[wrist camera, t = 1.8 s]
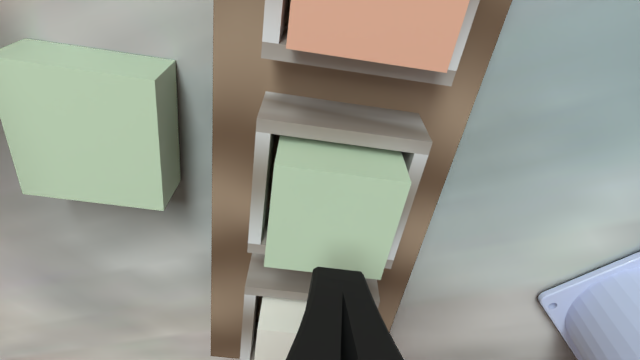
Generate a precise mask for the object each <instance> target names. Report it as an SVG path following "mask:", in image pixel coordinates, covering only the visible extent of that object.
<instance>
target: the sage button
mask: <svg viewBox="0 0 640 360" xmlns="http://www.w3.org/2000/svg"><path fill="white" fill-rule="evenodd" d="M410 186H411V180H410V177H409V174H408V171H407V167H406V164H405V161H404V158H403V155H402V152H401V151H394V150H387V149H379V148H372V147H365V146H357V145H350V144H343V143H335V142H328V141H321V140H313V139H306V138H299V137H291V136H284V135H280V138H279V143H278V148H277V153H276V158H275V163H274V171H273V181H272V190H271V200H270V210H269V220H268V230H267V240H266V249H265V259H264V267H270V268H279V269H288V270H297V271H305V272H313V269H314V268H316V267H326V268H334V269H343V270H352V271H361V272H362V273H363V274H364V277H365V278H367V279H376V280H381V277H382V274H383V271H384V268H385V265H386V261H387V258H388V255H389V252H390V249H391V246H392V243H393V240H394V236H395V233H396V230H397V227H398V224H399V221H400V218H401V215H402V211H403V208H404V205H405V202H406V199H407V196H408V193H409V189H410Z"/></svg>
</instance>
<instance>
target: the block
mask: <svg viewBox="0 0 640 360" xmlns="http://www.w3.org/2000/svg"><path fill="white" fill-rule="evenodd" d="M0 119H1V122H2V125H3V129H4V132H5V136H6V139H7V142H8V146H9V149H10V153H11V156H12V159H13V163H14V166H15V170H16V173H17V177H18V180H19V183H20V187H21V190H22V194H27V195H35V196H43V197H52V198H60V199H68V200H77V201H85V202H93V203H101V204H110V205H118V206H126V207H135V208H143V209H151V210H160V211H164V210H165V208H166V206H167V204H168V202H169V201H170V199H171V197H172V195H173V193H174V192H175V190H176V188H177V186H178V184H179V182H180V157H179V132H178V108H177V84H176V60H169V59H162V58H156V57H149V56H142V55H135V54H128V53H122V52H115V51H108V50H101V49H94V48H87V47H81V46H74V45H67V44H60V43H53V42H46V41H40V40H33V39H26V38H25V39H23V40H20V41H18V42H15V43H13V44H10V45H8V46H5V47H3V48H0Z"/></svg>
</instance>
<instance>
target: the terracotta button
mask: <svg viewBox="0 0 640 360" xmlns="http://www.w3.org/2000/svg"><path fill="white" fill-rule="evenodd" d="M469 1H470V0H291V3H290V13H289V23H288V33H287V43H286V49H291V50H298V51H304V52H311V53H318V54H324V55H331V56H337V57H344V58H351V59H357V60H364V61H370V62H377V63H384V64H390V65H397V66H404V67H410V68H417V69H423V70H430V71H437V72H443V73H447V70H448V67H449V64H450V61H451V58H452V55H453V52H454V48H455V45H456V42H457V39H458V36H459V33H460V30H461V27H462V23H463V20H464V17H465V14H466V11H467V8H468V5H469Z"/></svg>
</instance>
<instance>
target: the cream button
mask: <svg viewBox="0 0 640 360" xmlns="http://www.w3.org/2000/svg"><path fill="white" fill-rule="evenodd" d="M306 303H307V301H301V300H292V299H282V298H273V297H264V296H263V298H262V304H261V310H260V316H259V322H258V329H257V338H256V348H255V358H254V360H286V358H287V355H288V353H289V351H290V348H291V346H292V344H293V341H294V339H295V337H296V334H297V332H298V329H299V327H300V324H301V321H302V318H303V315H304V312H305V309H306Z"/></svg>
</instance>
